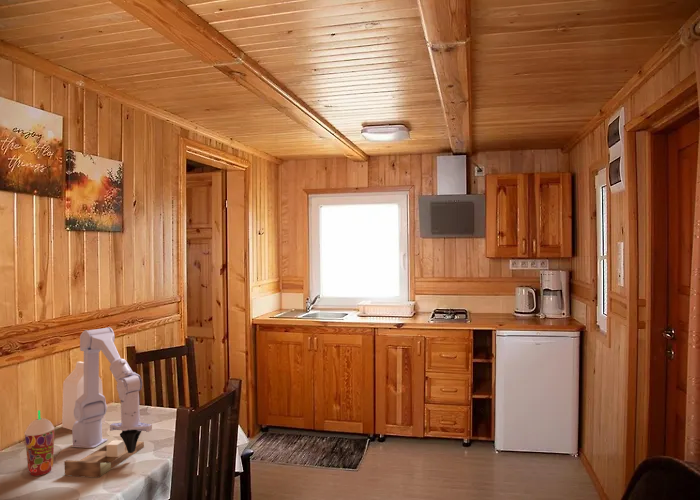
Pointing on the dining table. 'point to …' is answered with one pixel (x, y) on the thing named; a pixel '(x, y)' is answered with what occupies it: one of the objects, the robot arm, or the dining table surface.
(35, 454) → the smoothie
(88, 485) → the dining table surface
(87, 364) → the robot arm
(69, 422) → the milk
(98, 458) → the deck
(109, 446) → the block
